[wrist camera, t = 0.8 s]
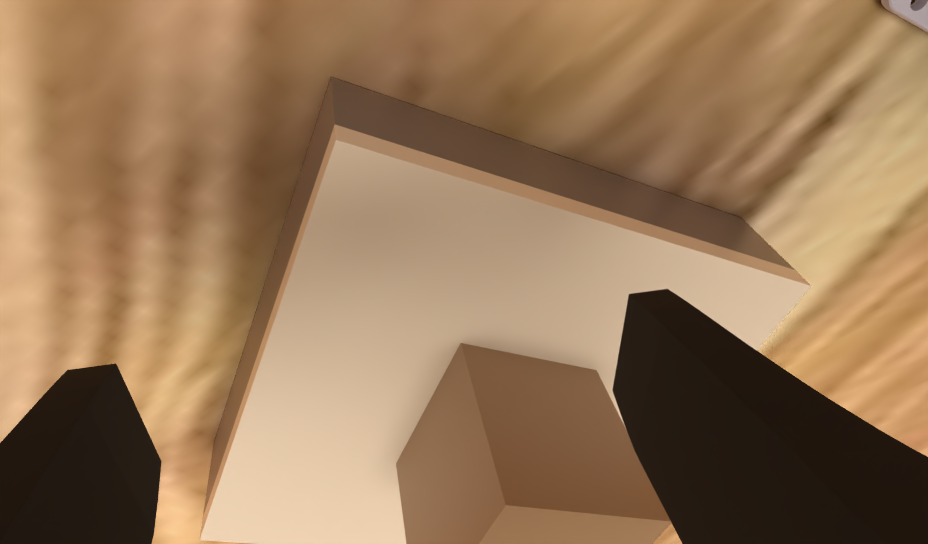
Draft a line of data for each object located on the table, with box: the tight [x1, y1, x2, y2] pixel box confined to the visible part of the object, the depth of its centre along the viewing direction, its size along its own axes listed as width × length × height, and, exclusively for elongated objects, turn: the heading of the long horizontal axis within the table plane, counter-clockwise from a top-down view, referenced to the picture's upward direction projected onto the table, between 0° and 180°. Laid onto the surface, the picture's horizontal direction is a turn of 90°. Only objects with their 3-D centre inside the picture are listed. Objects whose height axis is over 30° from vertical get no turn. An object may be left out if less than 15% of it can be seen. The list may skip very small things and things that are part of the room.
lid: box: [200, 125, 811, 544], centre depth 18 cm, size 14×14×6 cm
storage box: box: [203, 77, 795, 515], centre depth 21 cm, size 14×14×3 cm
